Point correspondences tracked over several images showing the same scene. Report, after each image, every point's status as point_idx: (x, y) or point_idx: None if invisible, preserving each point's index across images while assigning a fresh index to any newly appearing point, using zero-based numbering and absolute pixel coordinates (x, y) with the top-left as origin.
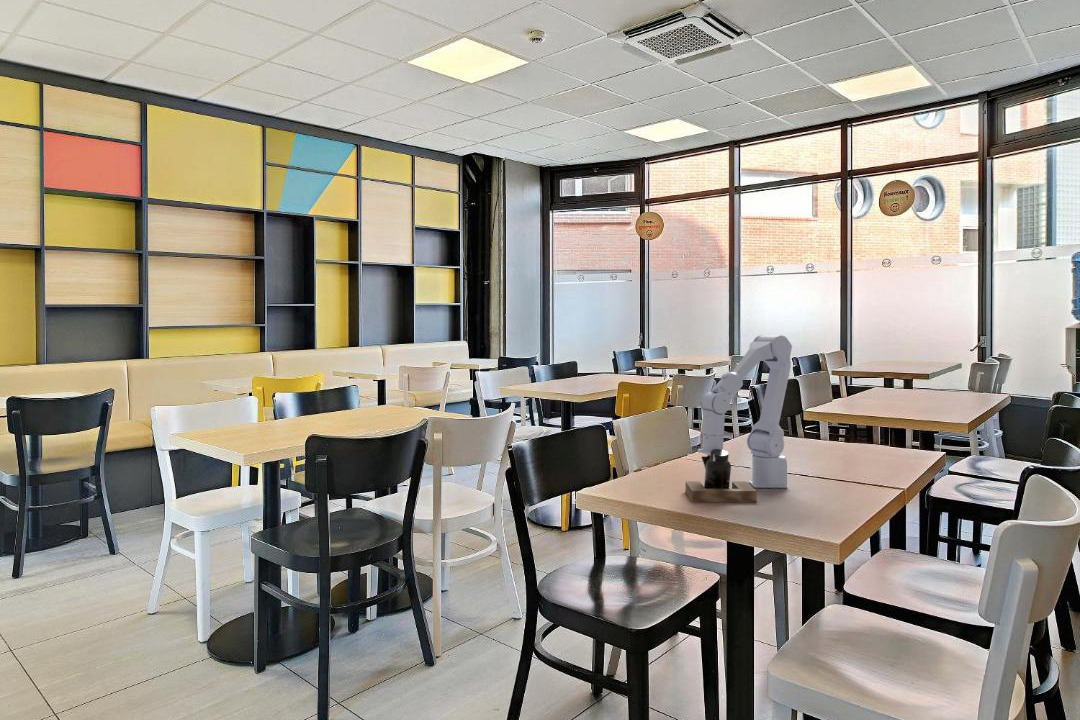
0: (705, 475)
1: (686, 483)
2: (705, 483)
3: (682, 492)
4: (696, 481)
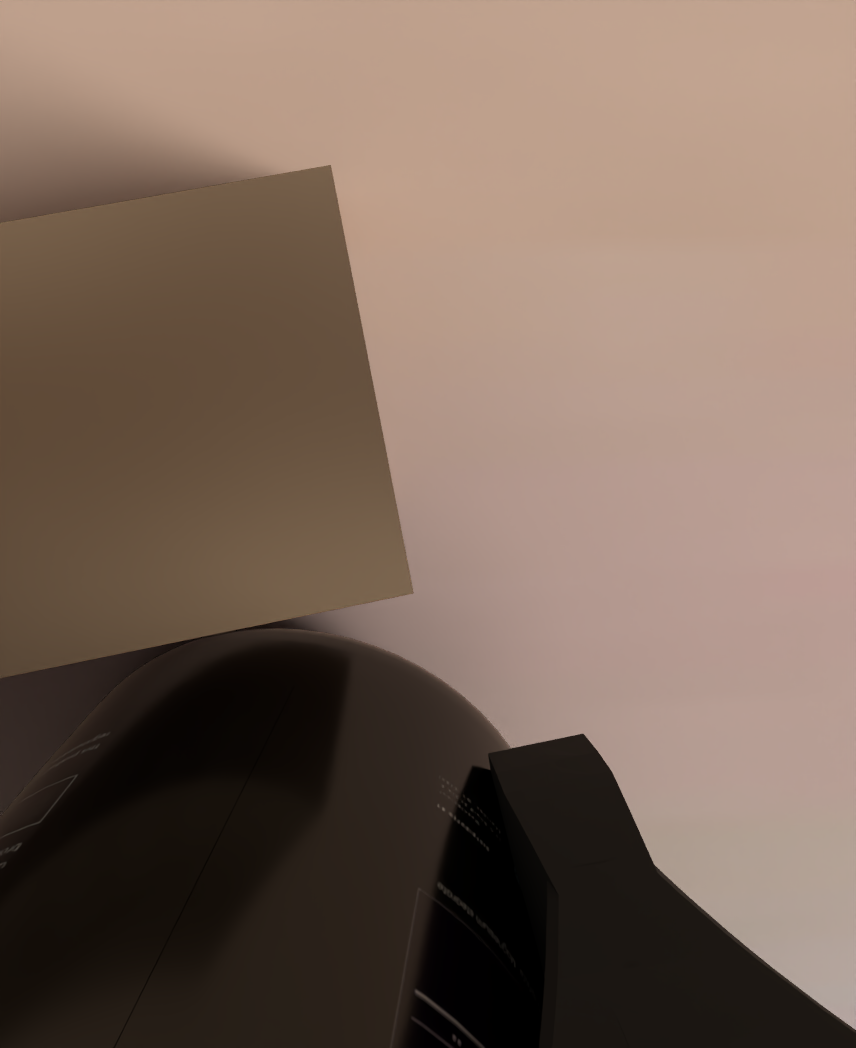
0: (7, 938)
1: (128, 203)
2: (103, 755)
3: (259, 115)
4: (378, 509)
